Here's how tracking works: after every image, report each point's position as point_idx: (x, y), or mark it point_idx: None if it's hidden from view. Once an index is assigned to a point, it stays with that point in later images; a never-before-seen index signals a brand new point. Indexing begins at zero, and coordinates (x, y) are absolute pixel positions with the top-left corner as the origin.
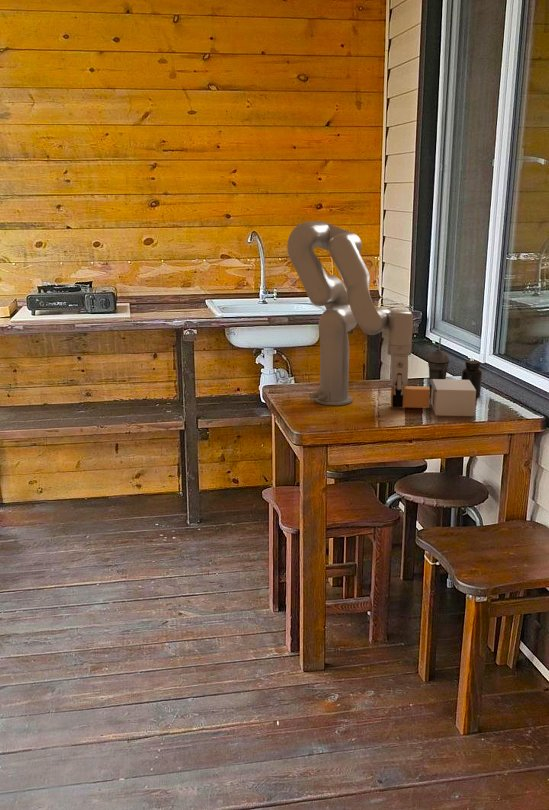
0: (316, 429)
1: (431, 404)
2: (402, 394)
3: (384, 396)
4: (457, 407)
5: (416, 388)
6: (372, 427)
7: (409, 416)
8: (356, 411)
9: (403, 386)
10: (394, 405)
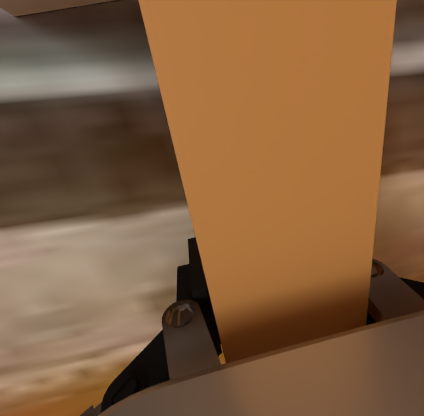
0: None
1: (58, 8)
2: (380, 262)
3: (8, 344)
4: None
5: (331, 138)
6: None
7: (386, 151)
8: None
9: (245, 321)
10: None
